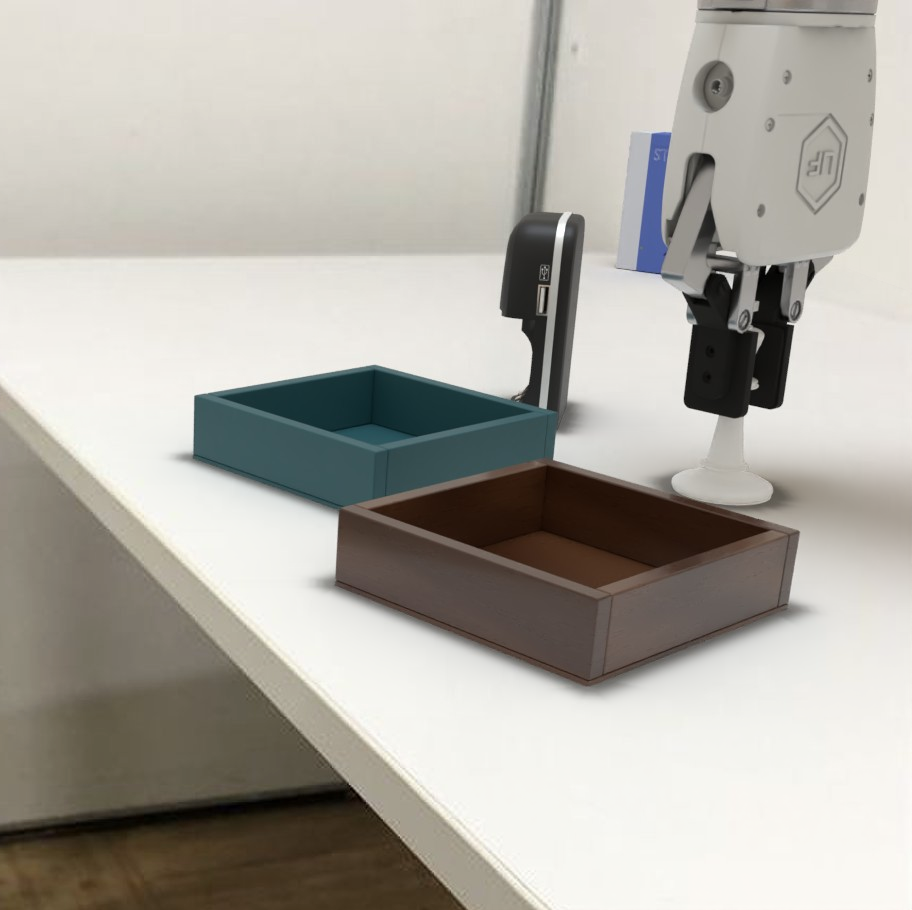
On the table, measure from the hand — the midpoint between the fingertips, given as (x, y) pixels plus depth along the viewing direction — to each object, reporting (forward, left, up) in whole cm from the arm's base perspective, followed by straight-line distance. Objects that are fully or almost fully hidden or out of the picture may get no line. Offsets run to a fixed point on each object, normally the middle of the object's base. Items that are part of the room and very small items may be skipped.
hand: (732, 404), depth 77 cm
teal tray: (+11, -13, -5) cm, 18 cm away
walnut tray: (+18, +5, -5) cm, 19 cm away
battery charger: (-4, -15, -5) cm, 17 cm away
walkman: (-56, -43, -5) cm, 71 cm away
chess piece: (0, 0, -5) cm, 5 cm away
